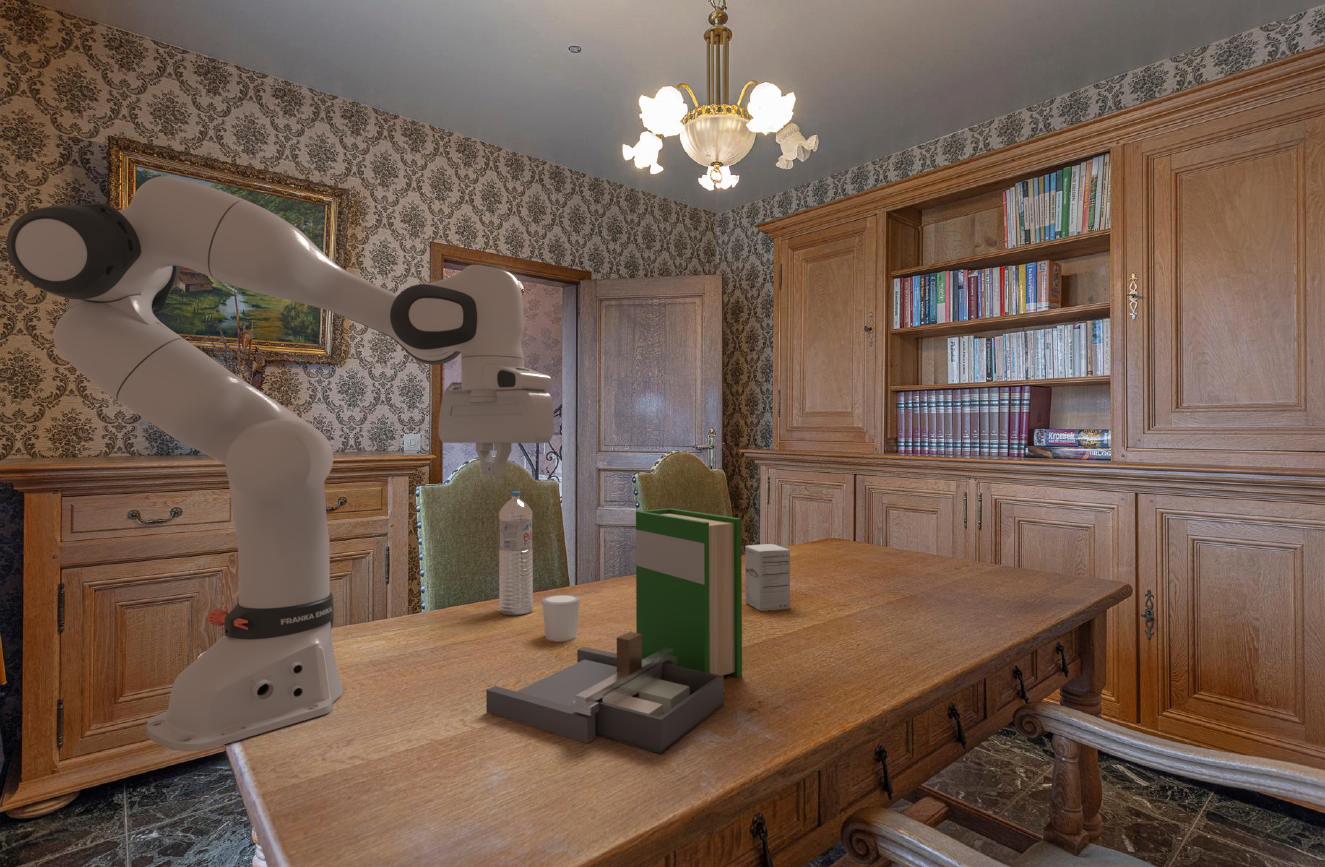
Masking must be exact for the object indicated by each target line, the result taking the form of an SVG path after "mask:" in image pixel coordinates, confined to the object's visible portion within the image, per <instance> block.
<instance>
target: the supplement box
mask: <svg viewBox="0 0 1325 867" xmlns="http://www.w3.org/2000/svg"><path fill="white" fill-rule="evenodd" d="M744 548H745V549H744V550H745V554H744V555H745V556H744V557H745V560H744V563H745V566H744V567H745V574H744V575H745V576H744V577H745V579H744V580H745V584H744V586H745V588H744V590H745V591H744V592H745V595H744V596H745V598H744V599H745V603H746V604H748V605H750V606H751V607H753V608H755V609H756V610H758V611H759V612H766V611H768V610H770V611H778V610H779V611H780V610H789V609H791V549H788V548H786V547H783V546H780V545H778V544H775V543H769V544H767V543H766V544H752V545H745V546H744Z"/></svg>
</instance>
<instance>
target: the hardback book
mask: <svg viewBox="0 0 1325 867" xmlns="http://www.w3.org/2000/svg"><path fill="white" fill-rule="evenodd" d="M742 559H743V558H742V518H740V517H732V516H726V515H718V514H712V513H711V514H710V513H704V512H698V511H691V510H685V509H678V508H662V509H661V508H660V509H653V510H651V509H650V510H640V511H638V510H637V511H635V593H636V594H635V595H636V597H635V598H636V599H635V600H636V601H635V602H636V603H635V604H636V608H635V609H636V613H635V615H636V617H635V618H636V621H635V622H636V623H635V624H636V627H635V628H636V632H635V633H639V634H642V659H644V658H646V657H648V656H650V655H652V654H654V653H656V652H658V651H659V650H661V649H663V648H669V649H674V656H675V657H678V664H677V665H676V666H679V667H683V668H688V669H693V670H698V671H702V672H707V673H712V674H716V675H721V676H723V677H724V676H725V675H731V676H733V677H735V678H737V679H738V678H741V677H743V620H742V619H743V612H742V611H743V603H742V601H743V600H742V599H743V597H742V596H743V592H742V591H743V590H742V589H743V588H742V587H743V586H742V584H743V578H742V570H743V568H742V566H743V565H742Z"/></svg>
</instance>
